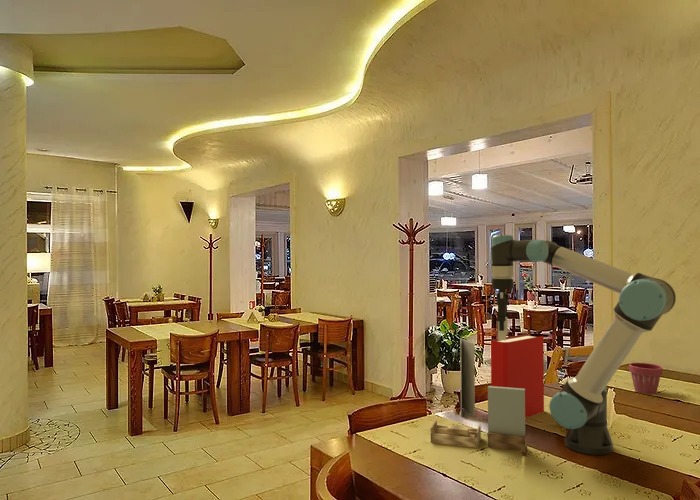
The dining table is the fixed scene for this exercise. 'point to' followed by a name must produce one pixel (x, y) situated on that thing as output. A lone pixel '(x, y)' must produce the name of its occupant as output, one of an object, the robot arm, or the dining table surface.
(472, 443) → the tray
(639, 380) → the plant pot
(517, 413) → the grey panel
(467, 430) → the offcut
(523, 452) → the stand
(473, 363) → the tall grey block
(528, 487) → the dining table surface
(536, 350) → the book
